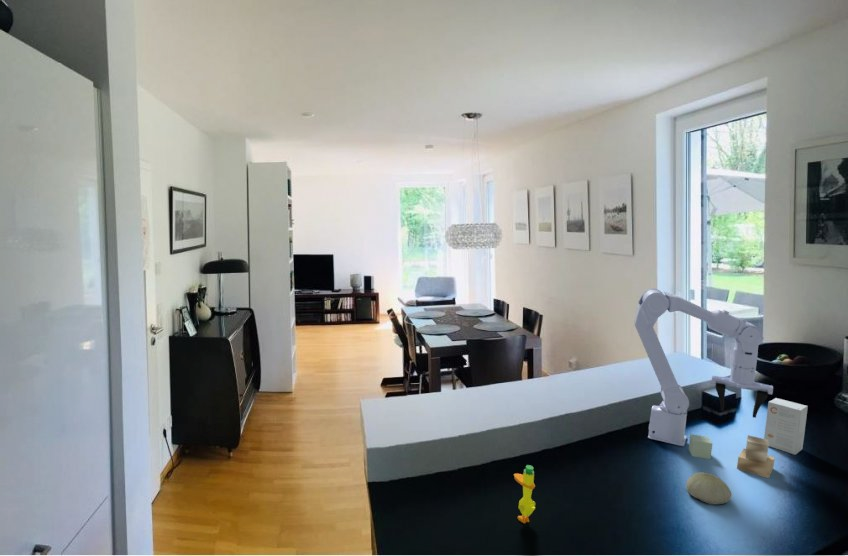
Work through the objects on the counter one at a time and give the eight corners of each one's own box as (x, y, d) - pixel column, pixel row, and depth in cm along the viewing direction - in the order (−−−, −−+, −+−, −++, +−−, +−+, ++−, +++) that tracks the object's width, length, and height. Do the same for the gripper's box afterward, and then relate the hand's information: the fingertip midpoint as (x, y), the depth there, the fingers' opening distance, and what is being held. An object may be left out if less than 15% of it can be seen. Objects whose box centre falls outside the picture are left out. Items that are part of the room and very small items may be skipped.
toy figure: (506, 513, 110) (509, 459, 109) (519, 509, 112) (522, 456, 111) (527, 530, 105) (531, 474, 103) (540, 525, 106) (544, 470, 105)
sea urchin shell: (724, 480, 125) (733, 469, 119) (727, 515, 120) (736, 505, 114) (682, 473, 127) (688, 462, 121) (683, 507, 123) (690, 496, 117)
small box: (802, 449, 149) (808, 405, 147) (795, 455, 145) (801, 410, 143) (770, 439, 155) (775, 397, 153) (762, 444, 151) (768, 401, 149)
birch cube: (745, 457, 135) (747, 441, 134) (745, 451, 138) (747, 435, 138) (766, 462, 132) (768, 445, 132) (765, 456, 136) (768, 439, 135)
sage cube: (692, 456, 141) (694, 440, 141) (688, 449, 146) (690, 434, 145) (710, 459, 140) (712, 443, 140) (706, 452, 144) (708, 436, 144)
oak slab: (736, 469, 135) (738, 456, 135) (742, 460, 141) (743, 448, 140) (768, 479, 131) (770, 466, 130) (773, 470, 136) (774, 457, 136)
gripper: (713, 364, 145) (707, 411, 146) (775, 374, 137) (769, 424, 139) (714, 359, 151) (709, 404, 152) (774, 368, 143) (768, 415, 145)
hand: (737, 413), depth 146 cm, fingers open, 7 cm apart
